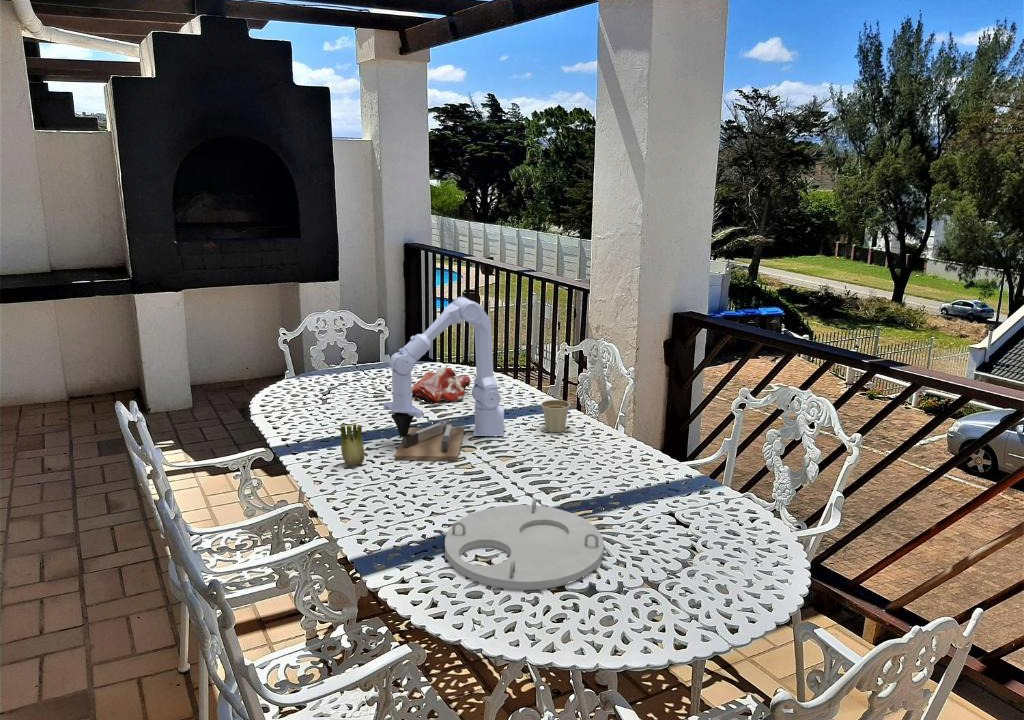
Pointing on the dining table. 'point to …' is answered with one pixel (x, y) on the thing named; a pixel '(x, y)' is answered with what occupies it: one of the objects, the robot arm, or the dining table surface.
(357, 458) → the fennel bulb
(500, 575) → the slab
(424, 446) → the walnut board
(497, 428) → the robot arm
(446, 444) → the fixed tong arm
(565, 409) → the flower pot
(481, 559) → the dining table surface
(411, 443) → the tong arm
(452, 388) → the meat
